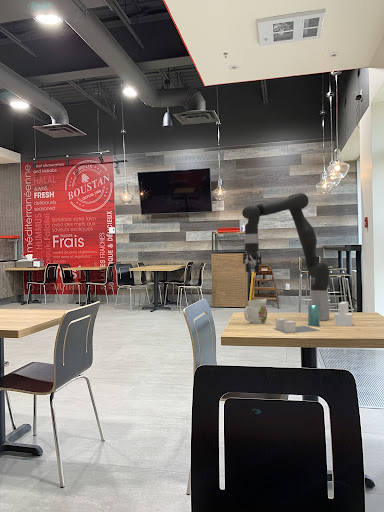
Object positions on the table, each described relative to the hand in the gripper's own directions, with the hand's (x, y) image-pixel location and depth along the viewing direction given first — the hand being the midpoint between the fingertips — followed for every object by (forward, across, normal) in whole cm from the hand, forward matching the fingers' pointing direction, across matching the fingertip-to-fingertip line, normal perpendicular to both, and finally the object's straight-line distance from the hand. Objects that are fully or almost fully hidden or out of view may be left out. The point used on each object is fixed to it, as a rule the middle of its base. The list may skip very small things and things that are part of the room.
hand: (252, 272), depth 231 cm
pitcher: (+29, 0, -2) cm, 29 cm away
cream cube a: (+28, -30, -1) cm, 41 cm away
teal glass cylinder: (+29, -22, -23) cm, 43 cm away
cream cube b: (+28, -22, -2) cm, 35 cm away
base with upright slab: (+30, -23, -43) cm, 57 cm away
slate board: (+29, -27, -7) cm, 40 cm away
